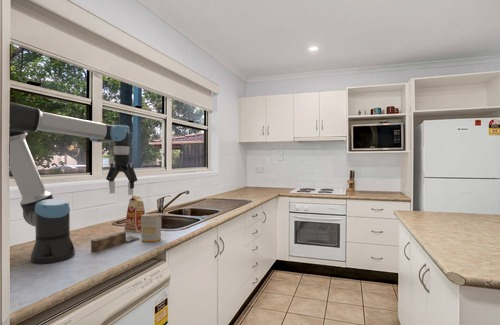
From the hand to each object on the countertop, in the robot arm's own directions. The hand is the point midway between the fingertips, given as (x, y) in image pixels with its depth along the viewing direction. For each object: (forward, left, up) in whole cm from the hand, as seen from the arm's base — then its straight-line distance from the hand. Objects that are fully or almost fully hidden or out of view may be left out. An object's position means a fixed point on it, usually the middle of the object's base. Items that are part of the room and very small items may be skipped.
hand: (121, 194), depth 156 cm
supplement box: (-2, -23, -22) cm, 32 cm away
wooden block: (-14, -13, -22) cm, 29 cm away
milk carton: (+10, +1, -22) cm, 24 cm away
